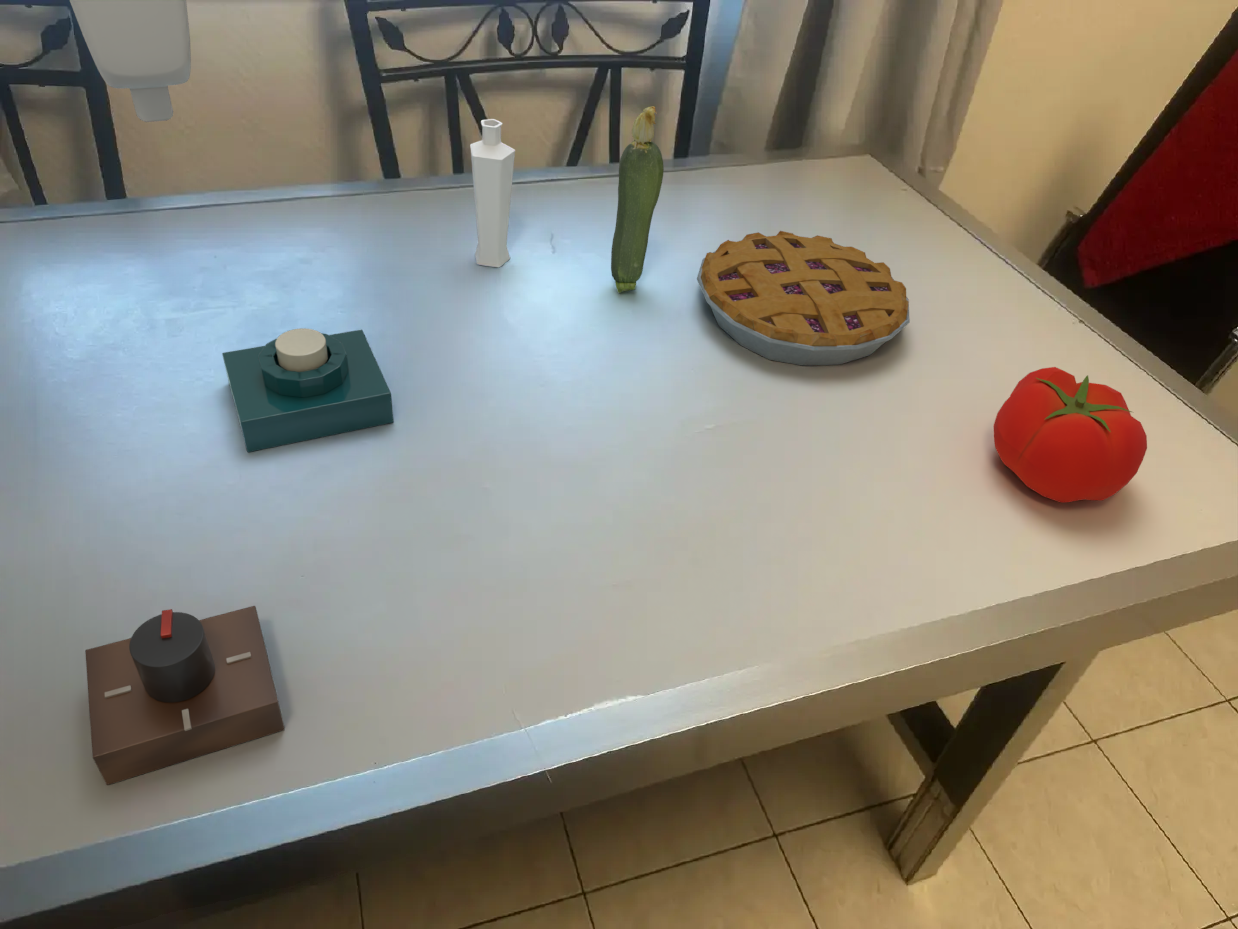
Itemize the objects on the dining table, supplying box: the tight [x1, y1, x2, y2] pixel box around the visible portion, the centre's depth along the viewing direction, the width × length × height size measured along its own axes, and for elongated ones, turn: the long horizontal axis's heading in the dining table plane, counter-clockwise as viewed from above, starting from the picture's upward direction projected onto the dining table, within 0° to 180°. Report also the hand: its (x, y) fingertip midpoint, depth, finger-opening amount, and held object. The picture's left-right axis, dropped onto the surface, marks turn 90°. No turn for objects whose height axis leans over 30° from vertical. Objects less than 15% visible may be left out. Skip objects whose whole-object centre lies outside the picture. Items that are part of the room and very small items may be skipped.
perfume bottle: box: [469, 118, 516, 268], centre depth 99 cm, size 5×4×15 cm
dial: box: [129, 608, 215, 703], centre depth 56 cm, size 4×4×4 cm
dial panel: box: [85, 605, 286, 786], centre depth 59 cm, size 10×8×3 cm
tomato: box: [993, 366, 1148, 504], centre depth 82 cm, size 13×12×8 cm
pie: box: [696, 230, 911, 366], centre depth 99 cm, size 22×22×5 cm
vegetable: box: [610, 105, 665, 295], centre depth 95 cm, size 4×4×20 cm
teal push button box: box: [221, 329, 395, 453], centre depth 81 cm, size 12×10×5 cm
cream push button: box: [275, 327, 328, 372], centre depth 79 cm, size 4×4×2 cm
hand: (154, 111), depth 51 cm, fingers closed
